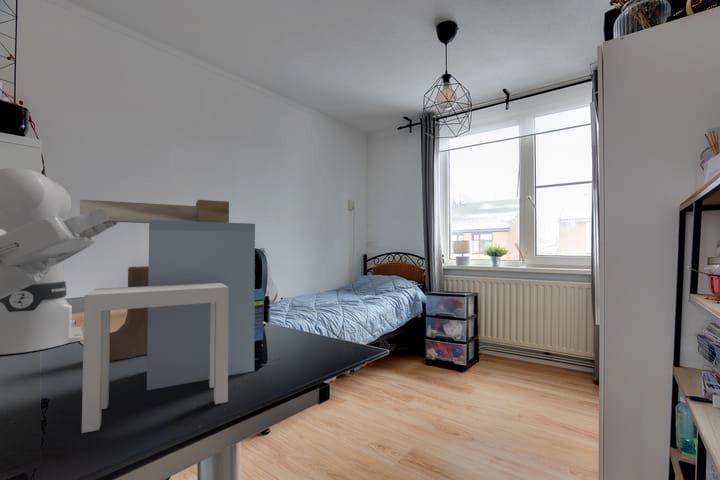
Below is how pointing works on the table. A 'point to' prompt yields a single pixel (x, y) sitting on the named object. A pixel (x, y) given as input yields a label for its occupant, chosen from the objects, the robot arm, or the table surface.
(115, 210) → the long tan plank
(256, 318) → the label tape box
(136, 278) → the wooden block
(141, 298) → the stool
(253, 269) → the tall blue-grey box
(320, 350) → the table surface
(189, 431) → the table surface
